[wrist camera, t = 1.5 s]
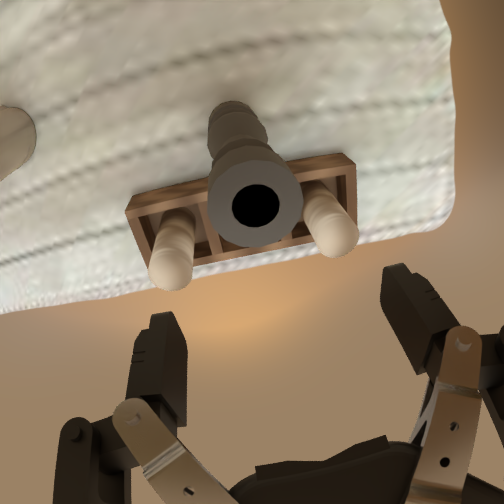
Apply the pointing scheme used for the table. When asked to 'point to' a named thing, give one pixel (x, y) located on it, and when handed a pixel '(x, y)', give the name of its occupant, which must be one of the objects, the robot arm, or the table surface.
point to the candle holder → (248, 181)
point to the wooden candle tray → (218, 249)
